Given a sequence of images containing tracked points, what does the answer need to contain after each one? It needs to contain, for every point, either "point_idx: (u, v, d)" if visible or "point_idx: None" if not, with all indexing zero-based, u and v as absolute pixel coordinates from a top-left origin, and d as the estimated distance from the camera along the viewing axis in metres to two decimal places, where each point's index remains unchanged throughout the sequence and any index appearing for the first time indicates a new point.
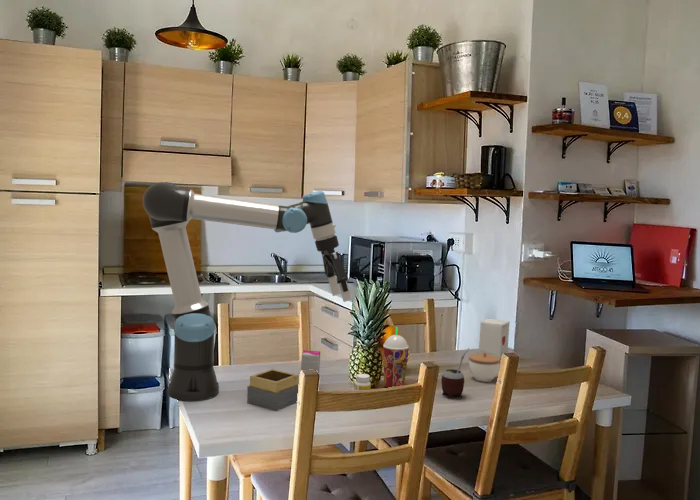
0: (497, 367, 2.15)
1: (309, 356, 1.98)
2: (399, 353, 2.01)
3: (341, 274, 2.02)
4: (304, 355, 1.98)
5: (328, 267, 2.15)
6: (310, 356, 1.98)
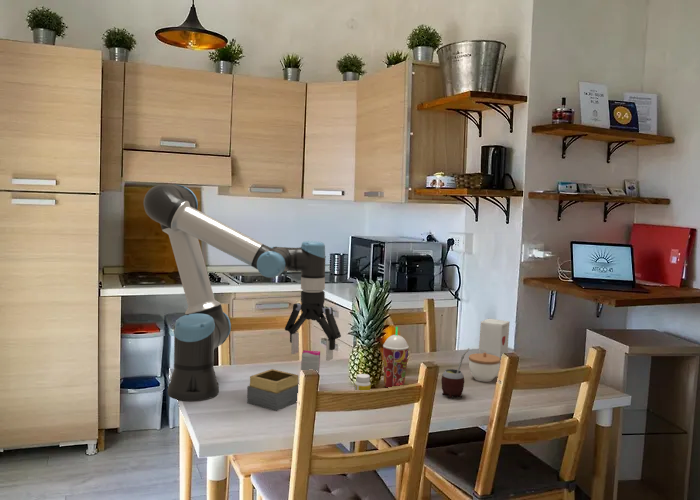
0: (497, 367, 2.15)
1: (309, 356, 1.98)
2: (399, 353, 2.01)
3: (336, 331, 1.95)
4: (304, 355, 1.98)
5: (300, 322, 2.02)
6: (310, 356, 1.98)
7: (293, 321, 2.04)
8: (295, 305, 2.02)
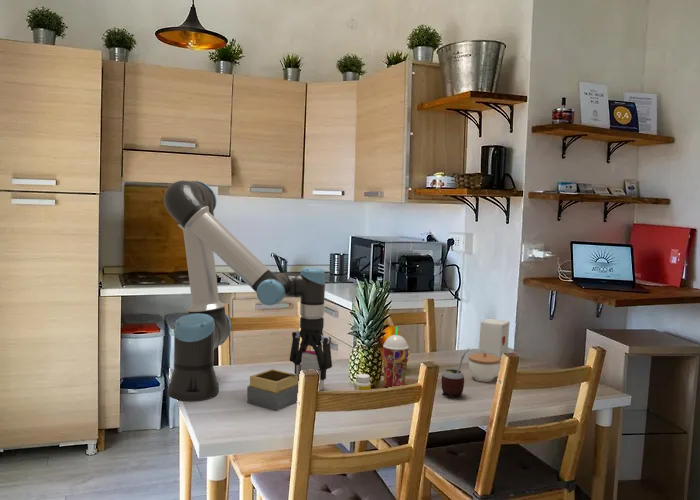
0: (497, 367, 2.15)
1: (309, 356, 1.98)
2: (399, 353, 2.01)
3: (328, 362, 1.97)
4: (304, 355, 1.98)
5: (302, 350, 2.02)
6: (310, 356, 1.98)
7: (296, 350, 2.04)
8: (294, 333, 2.02)
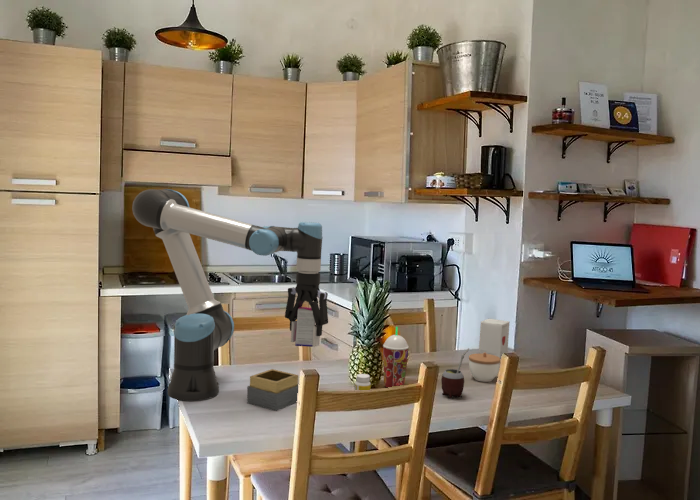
0: (497, 367, 2.15)
1: (305, 311, 1.95)
2: (399, 353, 2.01)
3: (325, 317, 1.94)
4: (300, 310, 1.95)
5: (298, 307, 1.98)
6: (306, 312, 1.95)
7: (291, 307, 2.01)
8: (289, 289, 1.99)
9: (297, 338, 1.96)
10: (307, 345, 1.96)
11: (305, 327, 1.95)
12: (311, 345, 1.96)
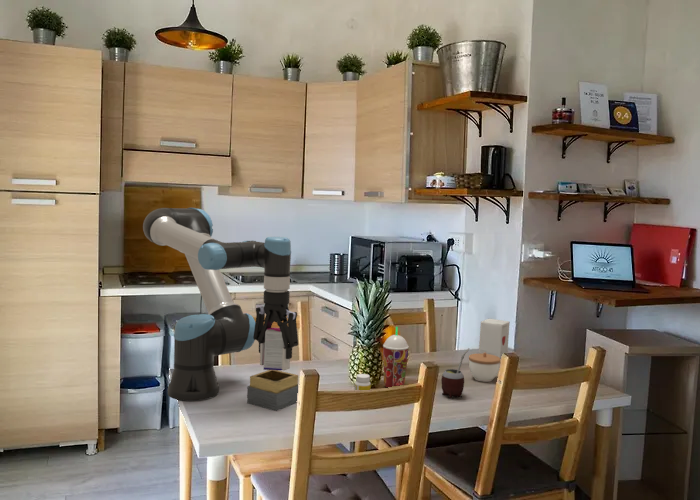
0: (497, 367, 2.15)
1: (273, 333, 1.82)
2: (399, 353, 2.01)
3: (294, 339, 1.81)
4: (268, 332, 1.82)
5: (266, 327, 1.85)
6: (274, 333, 1.82)
7: (260, 327, 1.88)
8: (258, 309, 1.86)
9: (266, 361, 1.83)
10: (276, 369, 1.83)
11: (274, 349, 1.82)
12: (280, 369, 1.83)
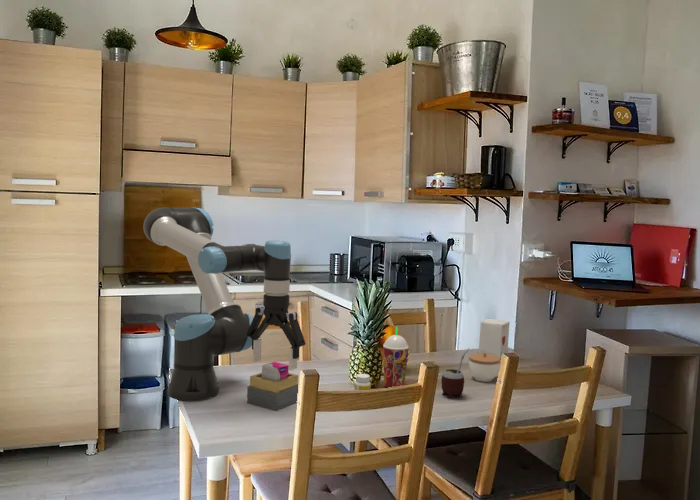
0: (497, 367, 2.15)
1: (268, 368, 1.83)
2: (399, 353, 2.01)
3: (300, 338, 1.80)
4: (264, 366, 1.84)
5: (262, 328, 1.86)
6: (269, 368, 1.83)
7: (256, 326, 1.89)
8: (258, 309, 1.86)
9: None
10: None
11: None
12: None
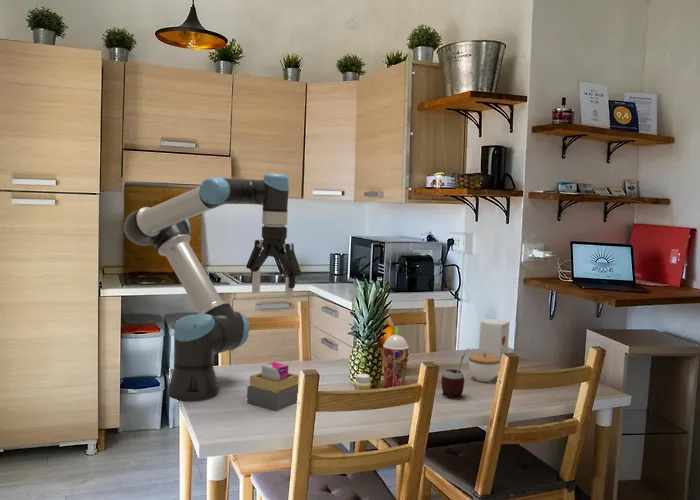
0: (497, 367, 2.15)
1: (267, 368, 1.83)
2: (399, 353, 2.01)
3: (296, 268, 1.85)
4: (264, 366, 1.84)
5: (261, 259, 1.92)
6: (268, 368, 1.83)
7: (255, 259, 1.95)
8: (257, 241, 1.92)
9: None
10: None
11: None
12: None
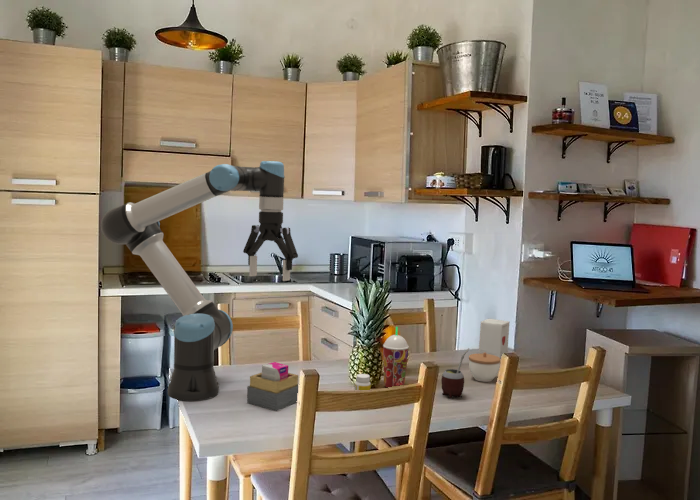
0: (497, 367, 2.15)
1: (267, 368, 1.83)
2: (399, 353, 2.01)
3: (293, 250, 1.93)
4: (264, 366, 1.84)
5: (258, 244, 2.00)
6: (268, 368, 1.83)
7: (252, 243, 2.02)
8: (253, 226, 2.00)
9: None
10: None
11: None
12: None
